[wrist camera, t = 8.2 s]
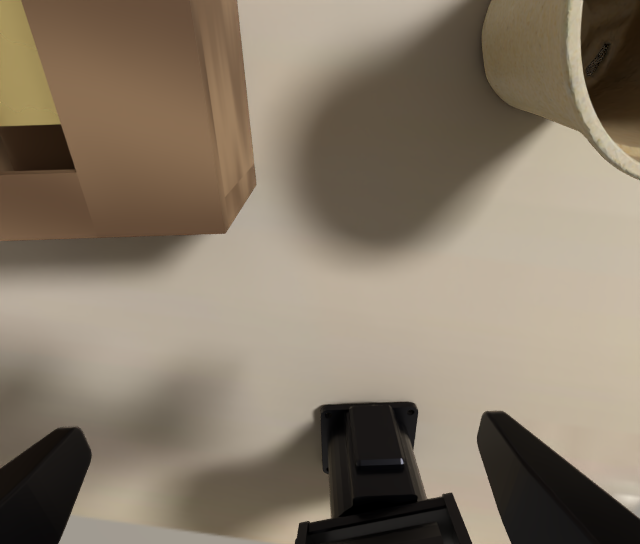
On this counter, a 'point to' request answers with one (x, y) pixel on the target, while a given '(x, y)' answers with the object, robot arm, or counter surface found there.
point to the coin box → (131, 123)
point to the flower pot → (571, 68)
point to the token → (22, 72)
